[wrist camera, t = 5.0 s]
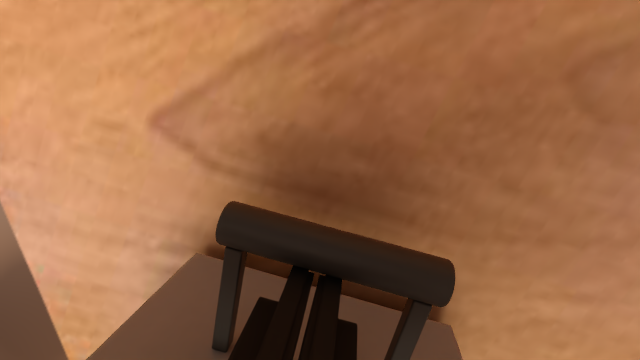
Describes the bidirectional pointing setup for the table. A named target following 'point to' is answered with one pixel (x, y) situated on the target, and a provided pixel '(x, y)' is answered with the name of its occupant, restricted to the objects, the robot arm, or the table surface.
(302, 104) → the table surface
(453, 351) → the drawer
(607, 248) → the table surface
